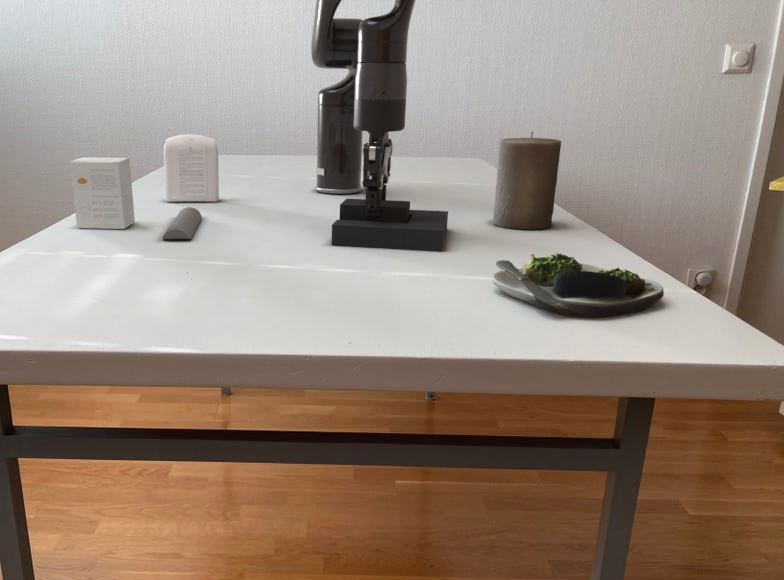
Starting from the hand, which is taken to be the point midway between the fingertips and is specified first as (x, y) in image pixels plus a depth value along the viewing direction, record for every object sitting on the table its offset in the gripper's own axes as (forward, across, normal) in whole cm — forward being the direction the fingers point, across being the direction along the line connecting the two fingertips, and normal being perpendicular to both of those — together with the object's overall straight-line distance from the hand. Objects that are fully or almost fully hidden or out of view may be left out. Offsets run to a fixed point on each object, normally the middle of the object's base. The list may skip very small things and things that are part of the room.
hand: (375, 211), depth 119 cm
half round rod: (+4, -2, +30) cm, 31 cm away
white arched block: (+4, +24, +38) cm, 45 cm away
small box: (+4, -3, +43) cm, 44 cm away
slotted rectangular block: (+4, 0, -3) cm, 5 cm away
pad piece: (+2, 0, 0) cm, 2 cm away
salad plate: (+4, -28, -27) cm, 39 cm away
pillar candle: (+4, +16, -23) cm, 28 cm away
